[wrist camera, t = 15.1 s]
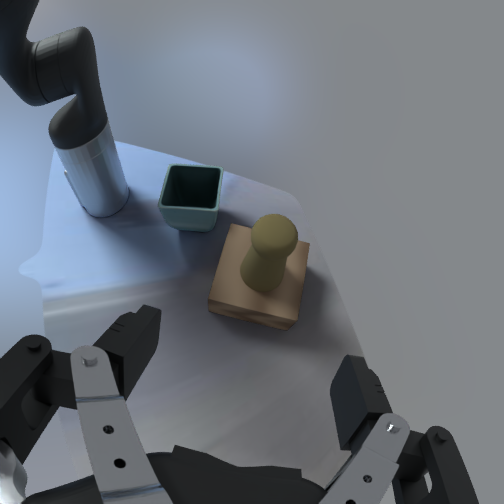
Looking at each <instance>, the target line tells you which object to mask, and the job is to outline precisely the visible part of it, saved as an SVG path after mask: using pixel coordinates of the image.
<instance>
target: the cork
mask: <svg viewBox="0 0 504 504" xmlns="http://www.w3.org/2000/svg"><path fill="white" fill-rule="evenodd" d="M251 242H252V245H251V247H250V248H249V250H248V252H247V254H246V256H245V258H244V260H243V262H242V264H241V267H240V274H241V277H242V280H243V281H244V283H245V284H246V285H247V286H248V287H250V288H251V289H253V290H256V291H260V292H267V291H271V290H273V289H275V288H277V287H278V286H279V284H280V283H281V282H282V279H283V276H284V271H285V266H286V262H287V257H288V256H289V255H291V253H292V252H293V251H294V250H295V248H296V245H297V243H298V232H297V229H296V227H295V225H294V224H293V223H292V222H291V220H289V219H288V218H286V217H285V216H282V215H279V214H270V215H265V216H263V217H261V218H260V219H259V220H258V221H257V222H256V223H255V224H254V226H253V228H252V231H251Z"/></svg>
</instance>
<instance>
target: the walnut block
mask: <svg viewBox="0 0 504 504" xmlns="http://www.w3.org/2000/svg"><path fill="white" fill-rule="evenodd" d="M251 231H252V228H248V227H244V226H240V225H236V224H232V223H231V225H230V228H229V231H228V235H227V238H226V241H225V244H224V247H223V251H222V254H221V257H220V260H219V264H218V267H217V270H216V273H215V277H214V280H213V283H212V287H211V290H210V293H209V297H208V306H209V311H210V312H213V313H217V314H221V315H225V316H229V317H233V318H236V319H240V320H244V321H248V322H252V323H257V324H261V325H265V326H269V327H273V328H278V329H282V330H288V329H289V328H290V327H291V326H292V325H293V324H294V323H295V322H296V321H297V320H298V314H299V308H300V303H301V297H302V291H303V285H304V278H305V272H306V265H307V259H308V252H309V245H310V243H306V242H302V241H298V243H297V245H296V248H295V250H294V251H293V252H292V253H291V255H289V256H288V257H287V262H286V266H285V271H284V276H283V279H282V282H281V283H280V284H279V286H278V287H277V288H275V289H273V290H271V291H267V292H260V291H256V290H253V289H251V288H250V287H248V286H247V285H246V284H245V283H244V281H243V280H242V277H241V274H240V267H241V264H242V262H243V260H244V258H245V256H246V254H247V252H248V250H249V248H250V247H251V245H252V242H251Z"/></svg>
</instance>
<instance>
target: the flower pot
mask: <svg viewBox="0 0 504 504" xmlns="http://www.w3.org/2000/svg"><path fill="white" fill-rule="evenodd" d="M223 171H224V169H223V167H218V166H204V165H187V164H170V165H169V166H168V170H167V173H166V177H165V180H164V184H163V187H162V191H161V195H160V198H159V202H158V207H159V209H160V211H161V213H162V215H163V218H164V219H165V221H166V223H167V224H168V225H169V226H171V227H172V228H175V229H178V230H187V231H200V232H208V231H210V230H212V229H213V228H214V226H215V224H216V219H217V214H218V209H219V200H220V191H221V184H222V177H223Z"/></svg>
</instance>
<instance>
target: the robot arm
mask: <svg viewBox="0 0 504 504" xmlns="http://www.w3.org/2000/svg"><path fill="white" fill-rule="evenodd" d="M38 2H39V0H0V75H1V76H2V78H3V79H4V80H5V81H6V82H7V83H8V85H9V86H10V87H11V88H12V89H13V90H14V92H15V93H16V94H17V95H18V96H19V97H20V98H21V99H22V100H23V101H24V102H26V103H27V104H29V105H31V106H41V105H45V104H48V103H50V102H53V101H56V100H59V99H61V98H64V97H67V96H70V95H73V94H76V96H75V97H74V98H73V99H72V100H71V101H70V102H68V103H67V104H66V105H65V106H63V107H62V108H61V109H60V110H59V111H58V112H57V113H56V114H55V115H54V117H53V118H52V119H51V121H50V124H49V135H50V137H51V140H52V142H53V144H54V146H55V149H56V151H57V153H58V155H59V157H60V159H61V162H62V164H63V166H64V168H65V172H64V174H65V176H66V178H67V180H68V182H69V184H70V186H71V188H72V190H73V192H74V194H75V195H76V197H77V199H78V201H79V203H80V205H81V206H84V207H85V208H86V210H87V212H88V213H89V214H90V215H92V216H95V217H107V216H110V215H113V214H114V213H116V212H118V211H119V210H120V209H121V208H122V207H123V206H124V205H125V203H126V202H127V199H128V196H129V189H128V186H127V183H126V180H125V176H124V173H123V170H122V167H121V163H120V160H119V157H118V153H117V150H116V146H115V143H114V139H113V136H112V132H111V129H110V125H109V121H108V117H107V113H106V110H105V105H104V101H103V97H102V92H101V88H100V83H99V76H98V69H97V61H96V53H95V46H94V41H93V37H92V35H91V33H90V31H89V30H88V29H87V28H85V27H77V28H74V29H71V30H68V31H65V32H62V33H59V34H56V35H54V36H51V37H49V38H46V39H44V40H41V41H39V42H30V41H29V40H28V39H27V38H26V34H27V30H28V27H29V24H30V21H31V19H32V17H33V14H34V12H35V9H36V7H37V5H38ZM160 321H161V310H160V309H157V308H154V307H151V306H148V305H143V306H142V307H141V308H140V309H139V310H138V311H137V313H136V314H135V313H132V312H128V313H126V314H123V315H121V316H120V317H119V318H118V319H117V320H116V321H115V322H114V324H112V325H111V326H110V327H109V329H107V330H106V331H105V333H104V334H103V335H102V336H101V337H100V338H99V339H98V340H97V341H96V342H95V343H94V344H93V346H81V347H78V348H77V349H75V350H74V351H73V352H72V353H65V352H60V351H55V350H52V347H51V343H50V341H49V340H48V339H47V338H45V337H43V336H41V335H29V336H25V337H23V338H22V339H20V341H18V342H17V343H16V344H15V345H14V346H13V347H12V348H11V349H10V350H9V351H8V352H7V353H6V354H5V355H4V356H3V357H2V358H0V504H379V503H380V501H381V499H382V498H383V496H384V494H385V492H386V491H387V489H388V487H389V485H390V483H391V481H392V485H393V491H394V496H395V502H396V504H479V502H478V499H477V496H476V494H475V491H474V488H473V485H472V483H471V480H470V477H469V475H468V472H467V470H466V467H465V465H464V462H463V460H462V457H461V455H460V453H459V450H458V448H457V446H456V443H455V441H454V439H453V436H452V435H451V434H450V432H449V431H448V430H446V429H445V428H443V427H440V426H432V427H430V428H429V429H428V430H427V432H426V433H425V434H423V433H419V432H415V431H412V430H410V427H409V425H408V423H407V421H406V420H405V419H403V418H402V417H400V416H399V415H396V414H393V412H392V409H391V407H390V404H389V402H388V400H387V397H386V395H385V393H384V390H383V387H381V386H382V385H381V382H380V380H379V378H378V376H376V374H375V373H374V372H373V371H372V370H371V369H368V367H367V364H366V362H365V359H364V358H363V357H359V356H353V355H346V356H345V357H344V359H343V361H342V363H341V365H340V367H339V369H338V371H337V373H336V375H335V377H334V379H333V381H332V384H331V388H330V396H331V401H332V406H333V411H334V417H335V422H336V427H337V433H338V438H339V444H340V450H349V451H351V453H352V454H351V456H350V457H349V458H348V459H347V461H346V462H345V463H344V464H343V466H342V467H341V468H340V470H339V471H338V472H337V473H336V475H335V476H334V477H333V478H332V480H331V481H330V482H329V483H328V485H327V486H326V487H325V488H324V489H323V488H322V487H321V486H319V485H317V484H316V483H314V482H312V481H309V480H307V479H304V478H302V476H301V469H294V468H285V467H277V466H259V467H237V466H234V465H232V464H229V463H227V462H224V461H222V460H220V459H218V458H215V457H213V456H211V455H209V454H207V453H203V452H199V451H195V450H191V449H188V448H184V447H181V446H177V445H175V446H174V449H173V452H172V453H171V452H155V453H148V454H146V453H145V451H144V449H143V446H142V444H141V442H140V439H139V437H138V434H137V432H136V429H135V427H134V424H133V422H132V419H131V416H130V414H129V411H128V408H127V405H126V400H127V398H128V396H129V395H130V393H131V391H132V390H133V388H134V386H135V385H136V383H137V381H138V380H139V378H140V376H141V375H142V373H143V371H144V370H145V368H146V366H147V365H148V363H149V361H150V360H151V358H152V356H153V355H154V353H155V351H156V348H157V345H158V340H159V331H160ZM59 406H61V407H66V408H71V409H76V410H78V414H79V419H80V424H81V428H82V432H83V437H84V441H85V445H86V449H87V452H88V456H89V460H90V463H91V466H92V470H93V473H94V474H93V475H91V476H88V477H85V478H83V479H80V480H77V481H74V482H71V483H68V484H65V485H63V486H59V487H56V488H53V489H49V490H46V491H42V492H39V493H35V494H33V495H31V496H29V497H27V498H26V496H25V487H26V484H27V473H26V471H25V469H24V467H23V466H22V465H23V463H24V461H25V460H26V458H27V457H28V455H29V453H30V452H31V450H32V448H33V447H34V445H35V443H36V442H37V440H38V439H39V437H40V435H41V434H42V432H43V431H44V429H45V428H46V426H47V424H48V423H49V422H50V420H51V418H52V417H53V415H54V414H55V412H56V411H57V409H58V408H59ZM428 472H429V474H430V478H431V481H432V489H431V491H430V493H429V492H428V488H427V485H426V481H425V478H424V475H425V474H426V473H428Z"/></svg>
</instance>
